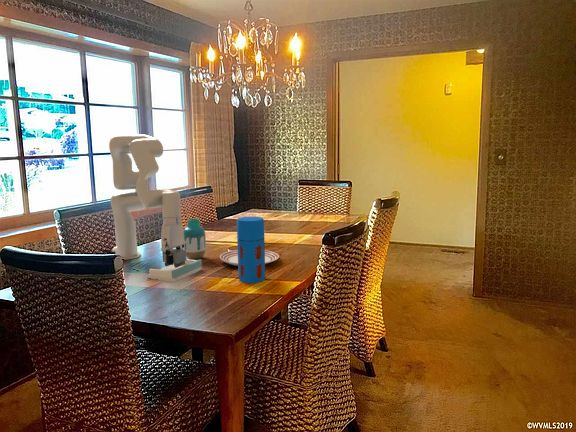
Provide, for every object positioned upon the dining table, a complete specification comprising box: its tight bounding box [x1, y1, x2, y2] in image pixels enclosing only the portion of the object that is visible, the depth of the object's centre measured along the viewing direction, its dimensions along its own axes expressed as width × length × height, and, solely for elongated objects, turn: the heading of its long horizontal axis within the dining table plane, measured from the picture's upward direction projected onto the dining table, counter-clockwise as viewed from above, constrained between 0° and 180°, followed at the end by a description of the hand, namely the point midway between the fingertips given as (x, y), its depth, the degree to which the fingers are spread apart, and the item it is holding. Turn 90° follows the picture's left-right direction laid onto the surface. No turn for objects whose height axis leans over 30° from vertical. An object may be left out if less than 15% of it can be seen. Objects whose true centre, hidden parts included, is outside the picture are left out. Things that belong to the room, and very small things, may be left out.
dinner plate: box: [219, 249, 280, 267], centre depth 213 cm, size 28×27×3 cm
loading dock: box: [146, 258, 203, 283], centre depth 195 cm, size 14×19×4 cm
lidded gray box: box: [161, 247, 187, 268], centre depth 194 cm, size 8×6×9 cm
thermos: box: [236, 216, 266, 284], centre depth 185 cm, size 11×11×25 cm
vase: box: [183, 217, 207, 260], centre depth 218 cm, size 11×11×19 cm
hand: (174, 262), depth 195 cm, fingers closed on lidded gray box, 5 cm apart
